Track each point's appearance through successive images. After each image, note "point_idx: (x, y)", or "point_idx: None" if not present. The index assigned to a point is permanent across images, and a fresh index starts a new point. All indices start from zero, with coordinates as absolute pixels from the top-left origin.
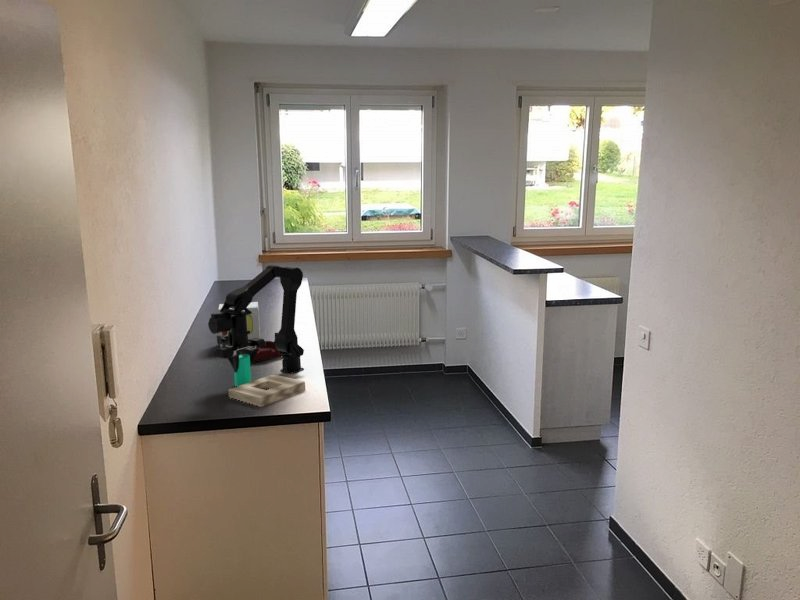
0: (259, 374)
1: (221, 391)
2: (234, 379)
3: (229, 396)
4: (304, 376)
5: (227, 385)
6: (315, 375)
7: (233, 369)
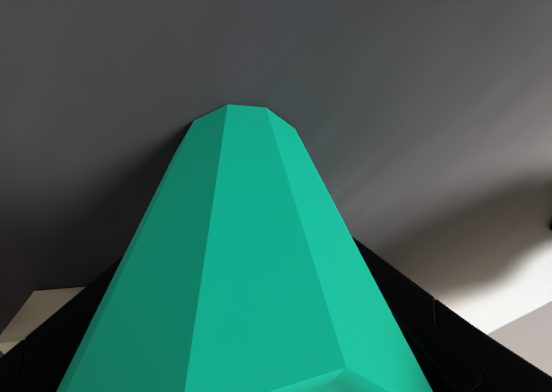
0: (524, 46)
1: (28, 158)
2: (176, 154)
3: (31, 304)
4: (503, 292)
5: (143, 59)
6: (523, 309)
7: (110, 267)
